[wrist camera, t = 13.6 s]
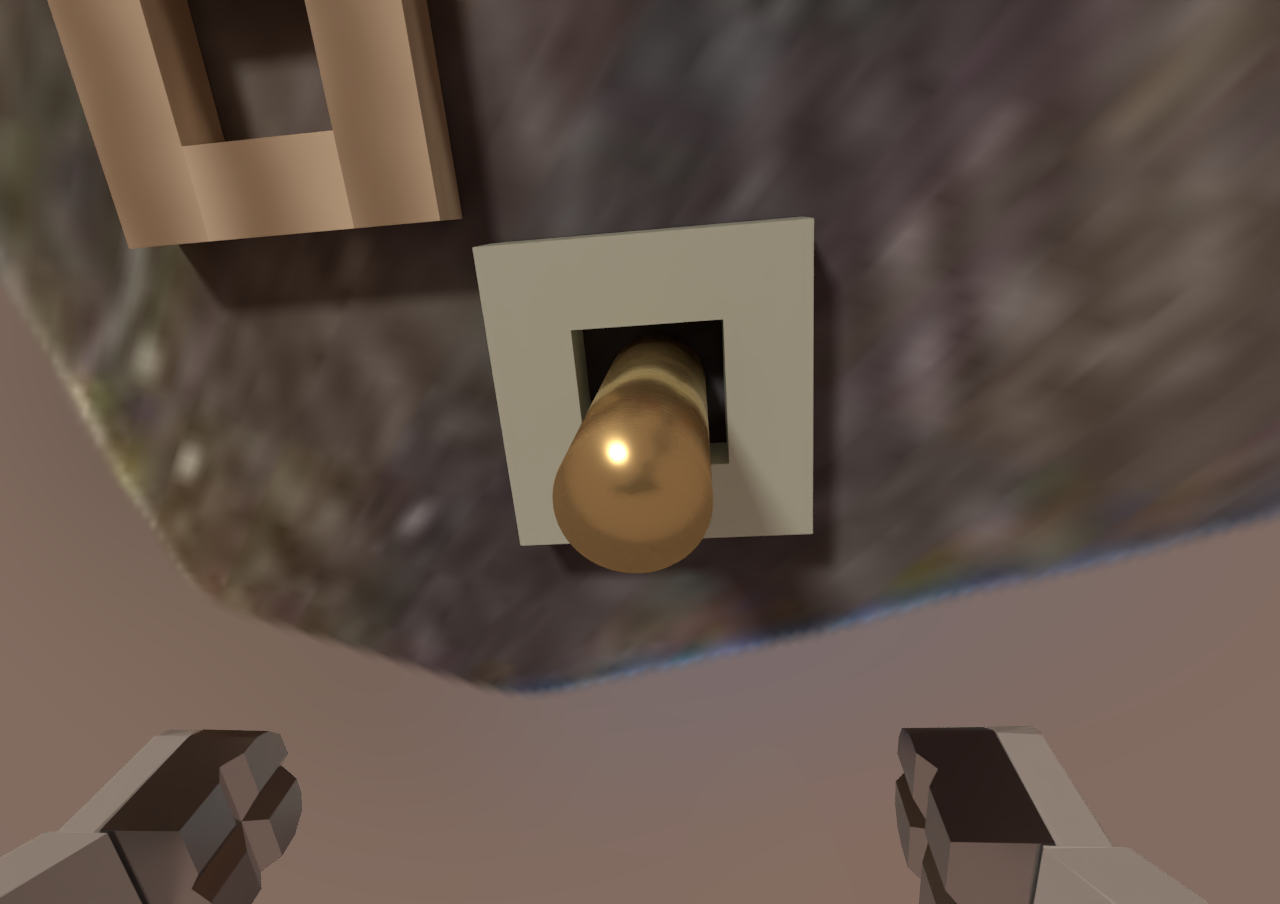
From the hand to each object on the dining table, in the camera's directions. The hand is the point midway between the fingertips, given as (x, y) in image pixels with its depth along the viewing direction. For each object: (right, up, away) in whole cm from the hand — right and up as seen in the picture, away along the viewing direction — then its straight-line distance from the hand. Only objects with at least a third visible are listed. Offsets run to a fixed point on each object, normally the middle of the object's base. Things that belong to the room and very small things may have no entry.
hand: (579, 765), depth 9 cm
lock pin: (+2, +7, +19) cm, 20 cm away
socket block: (+1, +7, +19) cm, 20 cm away
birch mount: (-13, +18, +16) cm, 27 cm away
